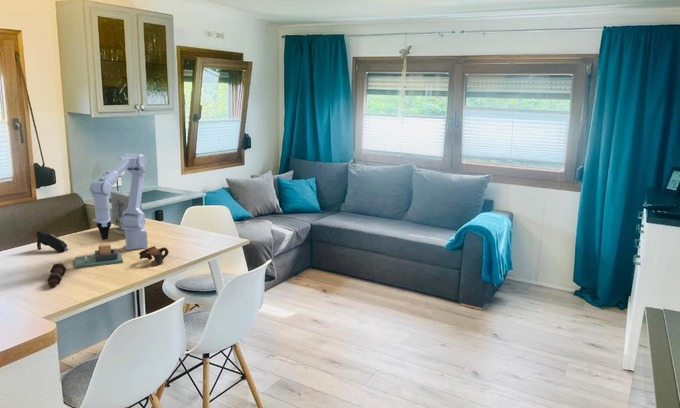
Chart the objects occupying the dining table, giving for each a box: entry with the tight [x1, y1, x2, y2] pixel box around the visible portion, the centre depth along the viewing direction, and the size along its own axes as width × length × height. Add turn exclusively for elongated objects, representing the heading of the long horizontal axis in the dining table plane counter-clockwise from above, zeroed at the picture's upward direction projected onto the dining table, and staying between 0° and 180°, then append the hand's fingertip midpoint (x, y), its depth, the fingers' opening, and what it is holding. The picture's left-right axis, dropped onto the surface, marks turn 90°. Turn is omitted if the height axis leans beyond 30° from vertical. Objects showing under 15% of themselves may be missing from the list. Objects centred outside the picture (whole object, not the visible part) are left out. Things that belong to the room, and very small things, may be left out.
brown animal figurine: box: [138, 245, 169, 267], centre depth 219 cm, size 12×10×8 cm
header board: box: [75, 248, 124, 269], centre depth 219 cm, size 18×13×4 cm
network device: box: [110, 190, 143, 236], centre depth 265 cm, size 26×9×20 cm, turn 49°
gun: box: [36, 229, 69, 253], centre depth 233 cm, size 3×16×10 cm, turn 79°
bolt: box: [46, 262, 67, 288], centre depth 195 cm, size 6×5×15 cm
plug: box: [97, 242, 112, 255], centre depth 220 cm, size 5×4×6 cm
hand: (104, 239), depth 219 cm, fingers closed
